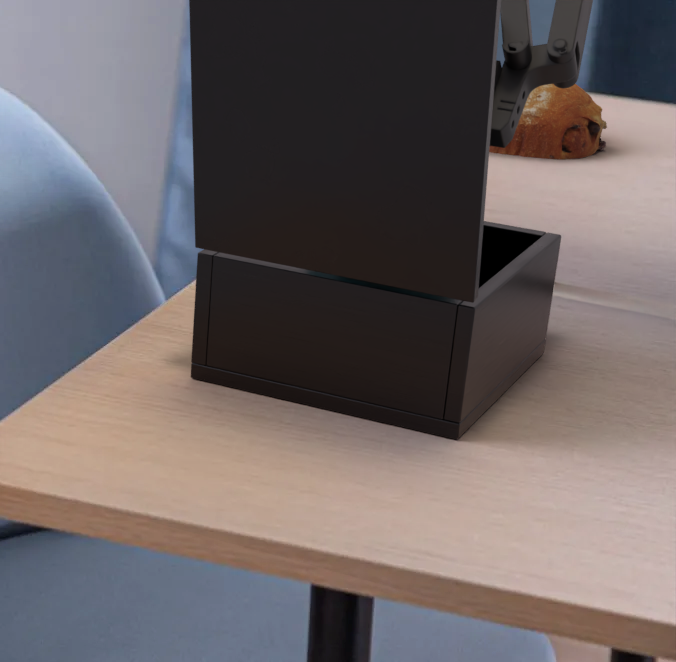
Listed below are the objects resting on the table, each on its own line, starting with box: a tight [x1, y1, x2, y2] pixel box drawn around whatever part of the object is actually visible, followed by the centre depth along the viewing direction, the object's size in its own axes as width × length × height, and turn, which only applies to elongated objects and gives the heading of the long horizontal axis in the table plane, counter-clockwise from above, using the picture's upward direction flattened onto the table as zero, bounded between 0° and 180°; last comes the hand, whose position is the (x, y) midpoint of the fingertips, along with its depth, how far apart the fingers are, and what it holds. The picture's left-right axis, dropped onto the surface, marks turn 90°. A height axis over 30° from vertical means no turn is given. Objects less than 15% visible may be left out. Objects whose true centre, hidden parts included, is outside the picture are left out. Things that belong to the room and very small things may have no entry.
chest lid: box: [188, 0, 501, 303], centre depth 76 cm, size 14×14×1 cm
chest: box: [190, 220, 562, 440], centre depth 87 cm, size 14×14×6 cm
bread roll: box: [489, 83, 608, 160], centre depth 128 cm, size 10×10×8 cm
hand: (366, 182), depth 81 cm, fingers closed on crock, 7 cm apart
